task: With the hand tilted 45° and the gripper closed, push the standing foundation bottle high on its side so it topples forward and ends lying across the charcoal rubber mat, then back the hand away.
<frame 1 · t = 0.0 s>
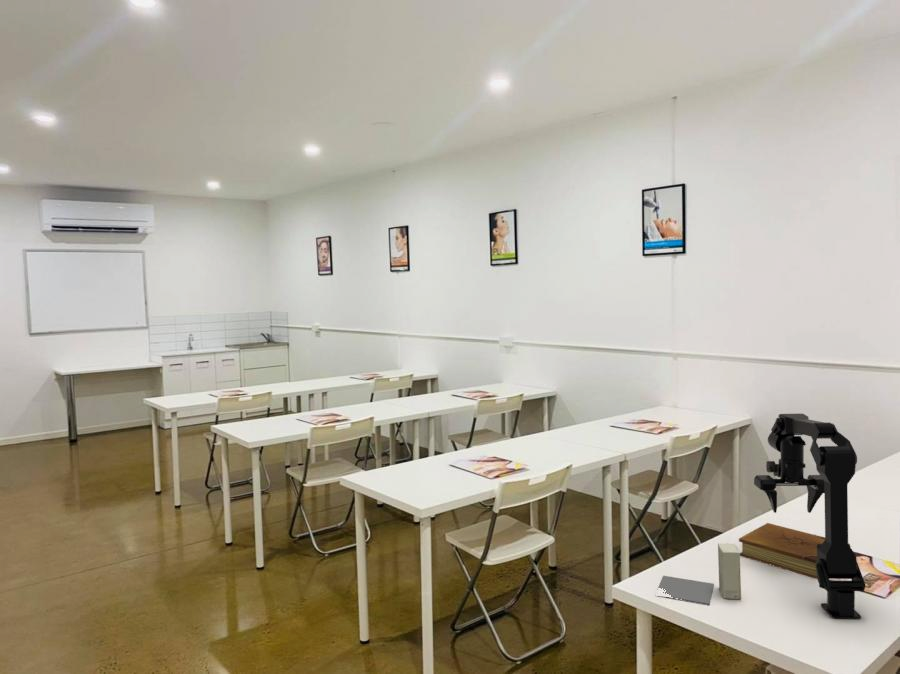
hand: (791, 512, 185), 15 cm above the table, tool pointing down, fingers open, 9 cm apart
diary: (793, 560, 189), on the table
mat: (685, 590, 172), on the table
skincare box: (729, 594, 169), on the table
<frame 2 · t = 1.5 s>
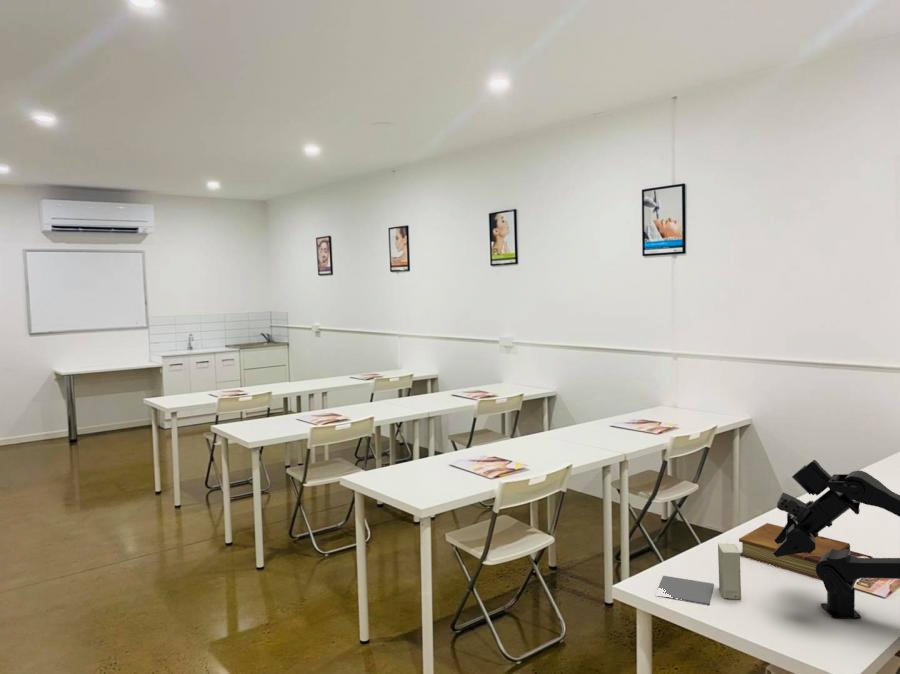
hand: (775, 548, 164), 13 cm above the table, tool tilted 45°, fingers open, 9 cm apart
nothing on the table moved.
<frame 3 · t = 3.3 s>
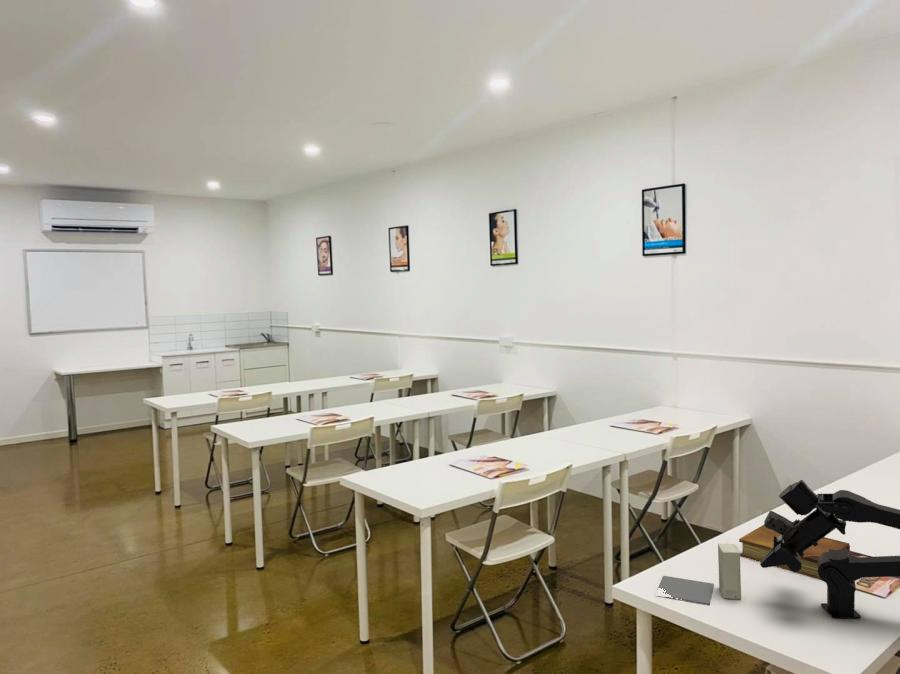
hand: (761, 565, 165), 9 cm above the table, tool tilted 45°, fingers closed
nothing on the table moved.
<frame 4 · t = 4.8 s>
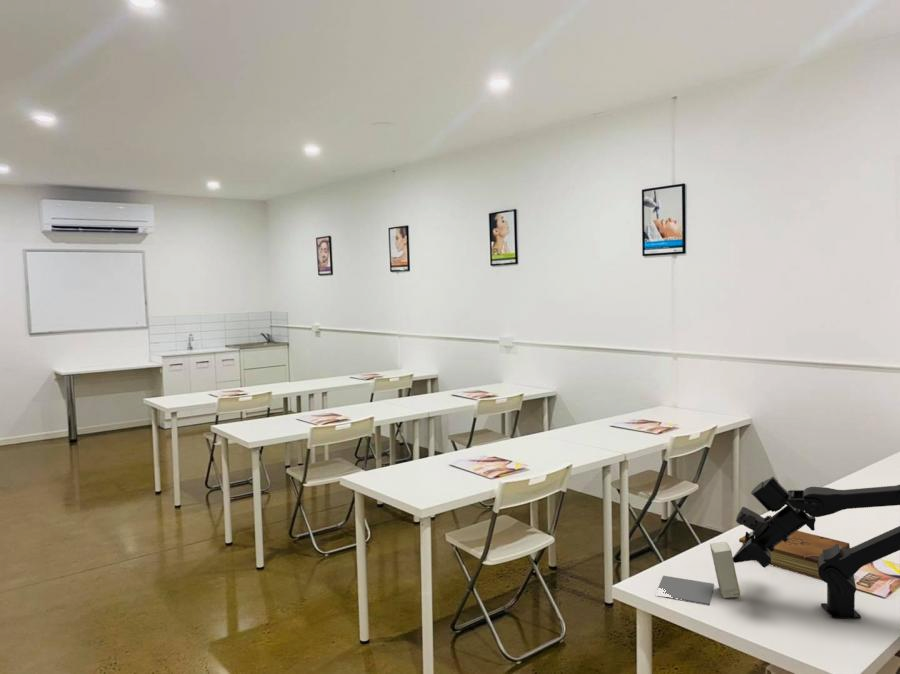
hand: (733, 560, 168), 9 cm above the table, tool tilted 45°, fingers closed
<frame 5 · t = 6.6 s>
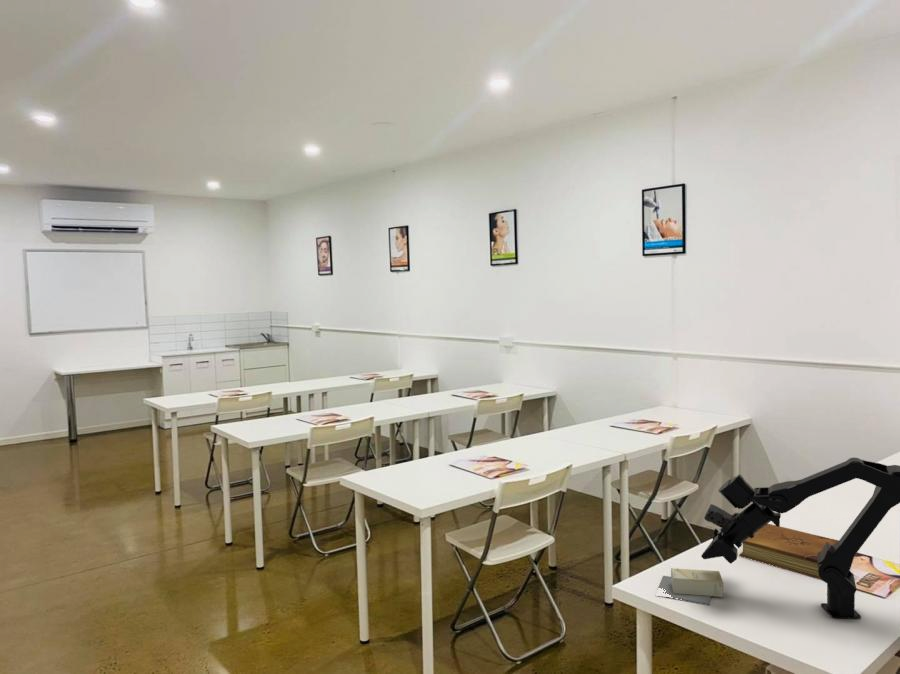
hand: (702, 557, 171), 9 cm above the table, tool tilted 45°, fingers closed
skincare box: (722, 584, 169), point 2 cm above the table, touching mat
everything else where it was.
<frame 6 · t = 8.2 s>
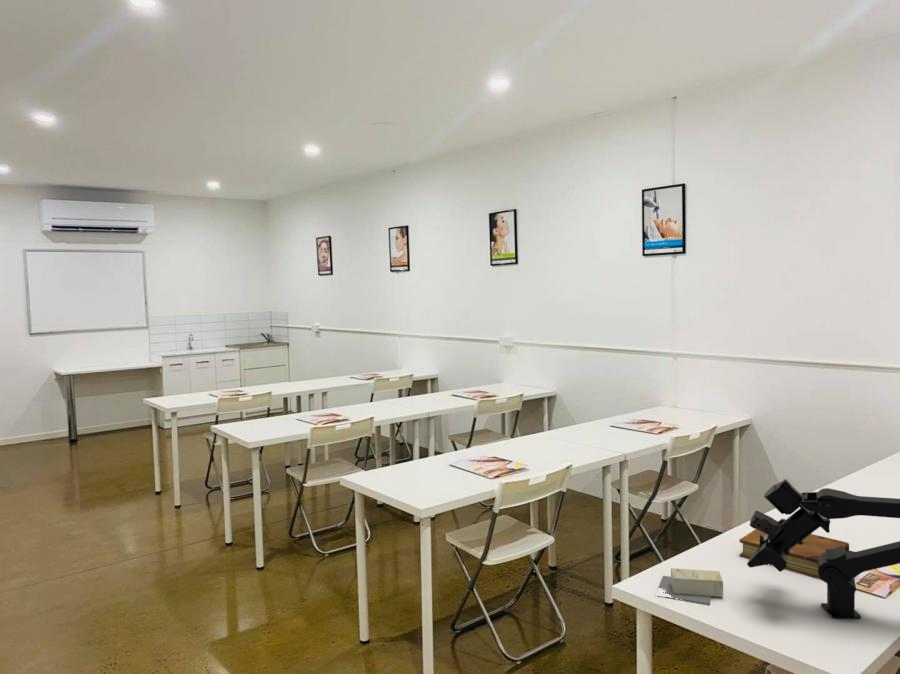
hand: (748, 565, 166), 8 cm above the table, tool tilted 45°, fingers closed
nothing on the table moved.
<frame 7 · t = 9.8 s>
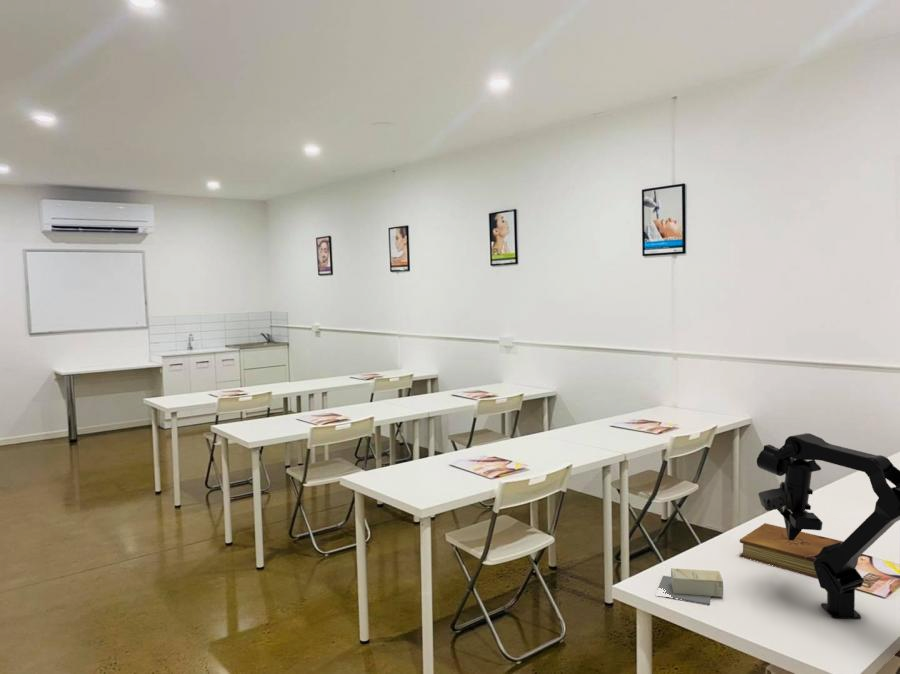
hand: (790, 539, 169), 13 cm above the table, tool pointing down, fingers closed
nothing on the table moved.
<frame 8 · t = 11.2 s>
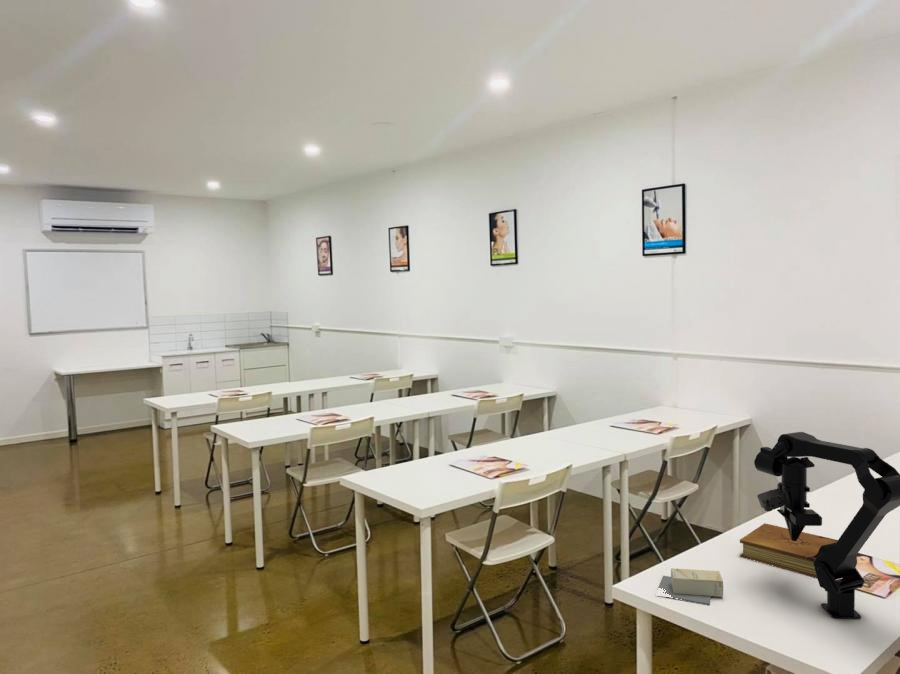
hand: (793, 540, 169), 13 cm above the table, tool pointing down, fingers closed
nothing on the table moved.
at the end: skincare box tilted 89°; skincare box touching mat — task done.
